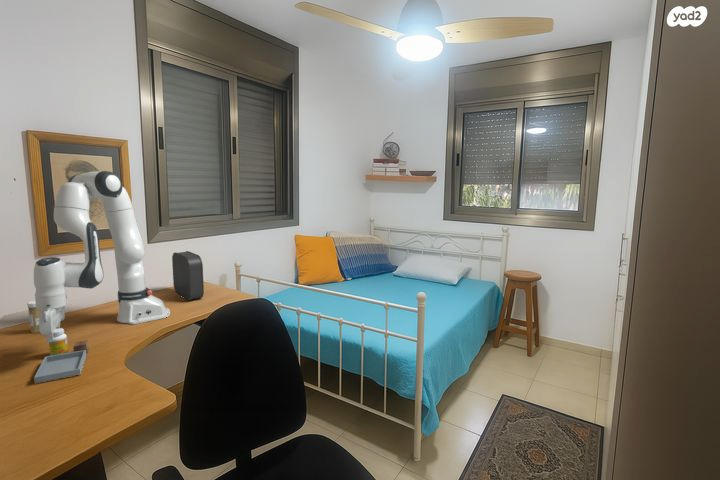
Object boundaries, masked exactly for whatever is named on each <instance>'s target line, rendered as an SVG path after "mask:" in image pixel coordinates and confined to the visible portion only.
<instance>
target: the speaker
mask: <svg viewBox="0 0 720 480" xmlns="http://www.w3.org/2000/svg"><path fill="white" fill-rule="evenodd" d="M171 257H172V258H171V261H172V265H171V266H172V278H173V279H172V280H173V282H172V283H173V289H174V292H175V293H177V294H176V295H178V296H179V295H180V296H179V297H181V296H182V297H184V298H185V300H186V299H187V300H189V301H191V300H196V299H202V298H203V297H204V294H205V293H204V292H205V288H204V287H205V286H204V265H203V260H202V258H201V256H200V255H199V254H196V253H194V252H191V251H188V250H186V251H181V252H173V253H172V256H171ZM182 297H181V298H182ZM184 298H183V299H184ZM187 300H186V301H187Z"/></svg>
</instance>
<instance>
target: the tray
mask: <svg viewBox="0 0 720 480" xmlns="http://www.w3.org/2000/svg"><path fill="white" fill-rule="evenodd" d="M87 355H88V354H86V350H83V351H77V352H74V351H72V352H68V353H65V354H59V355H53V356H50V355H48V356H45V357H44V358H43V360H42V361H41V363H40V365H39V368H38V369H37V372H36V373H35V375H34V377H33V380H34V384H35V383H39V384H41V383H40V382H44V381H50V380H55V379H60V378H64V377H69V376H74V375H79V374H81V375H82V372H83V369H84V366H83V364H84V365H85V362H84V361H86V359H87ZM82 368H83V369H82ZM81 371H82V372H81ZM60 380H61V379H60ZM55 381H56V380H55ZM50 382H51V381H50Z"/></svg>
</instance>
